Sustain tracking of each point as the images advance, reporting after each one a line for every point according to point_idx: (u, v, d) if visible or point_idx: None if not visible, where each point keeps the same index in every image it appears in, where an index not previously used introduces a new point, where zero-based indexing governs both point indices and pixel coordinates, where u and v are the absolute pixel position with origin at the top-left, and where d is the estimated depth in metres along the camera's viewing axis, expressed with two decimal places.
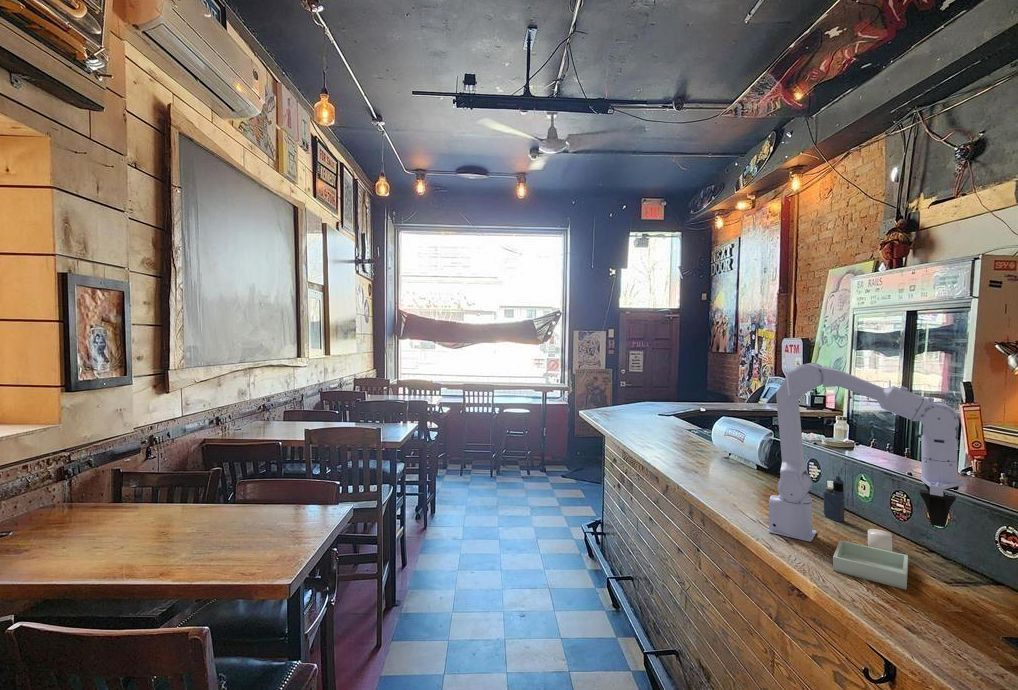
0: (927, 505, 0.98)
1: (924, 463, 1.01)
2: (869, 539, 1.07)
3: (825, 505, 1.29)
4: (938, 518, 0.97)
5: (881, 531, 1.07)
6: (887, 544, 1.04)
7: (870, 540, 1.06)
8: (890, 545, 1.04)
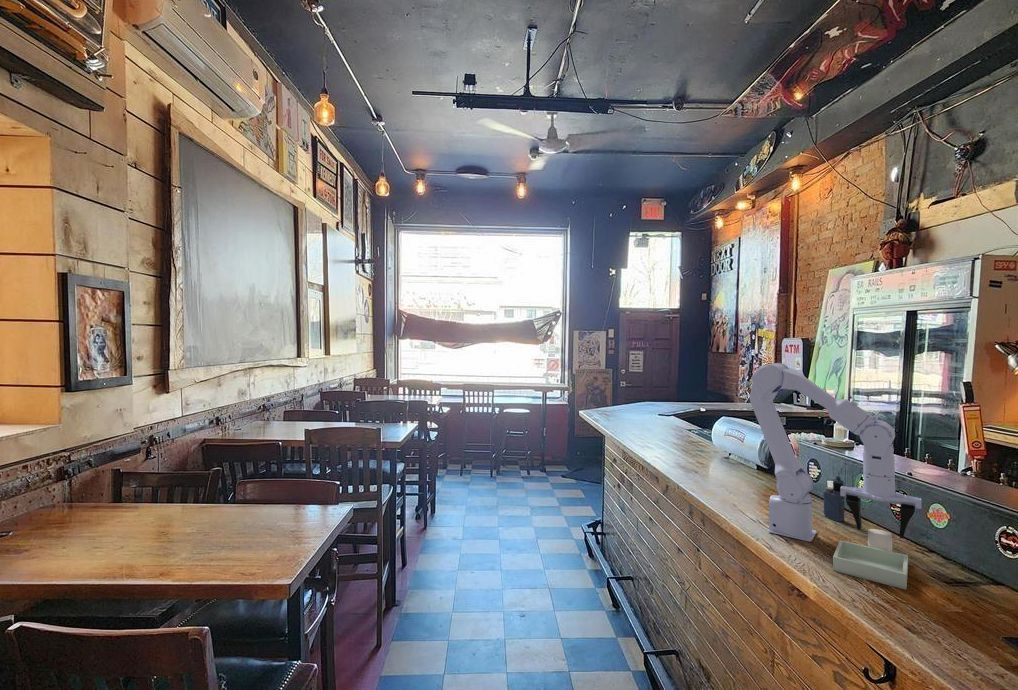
0: None
1: None
2: (869, 539, 1.07)
3: (825, 505, 1.29)
4: None
5: (881, 531, 1.07)
6: (887, 544, 1.04)
7: (870, 540, 1.06)
8: (890, 545, 1.04)
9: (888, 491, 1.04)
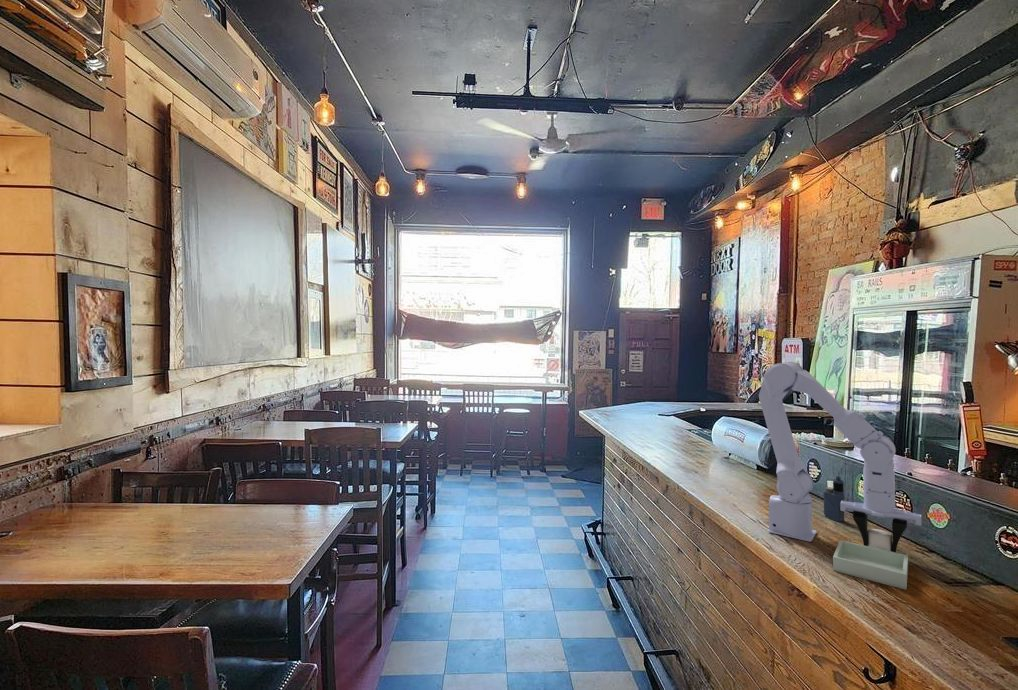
0: None
1: None
2: (869, 539, 1.07)
3: (825, 505, 1.29)
4: None
5: (881, 531, 1.07)
6: (887, 544, 1.04)
7: (870, 540, 1.06)
8: (890, 545, 1.04)
9: (888, 507, 1.04)
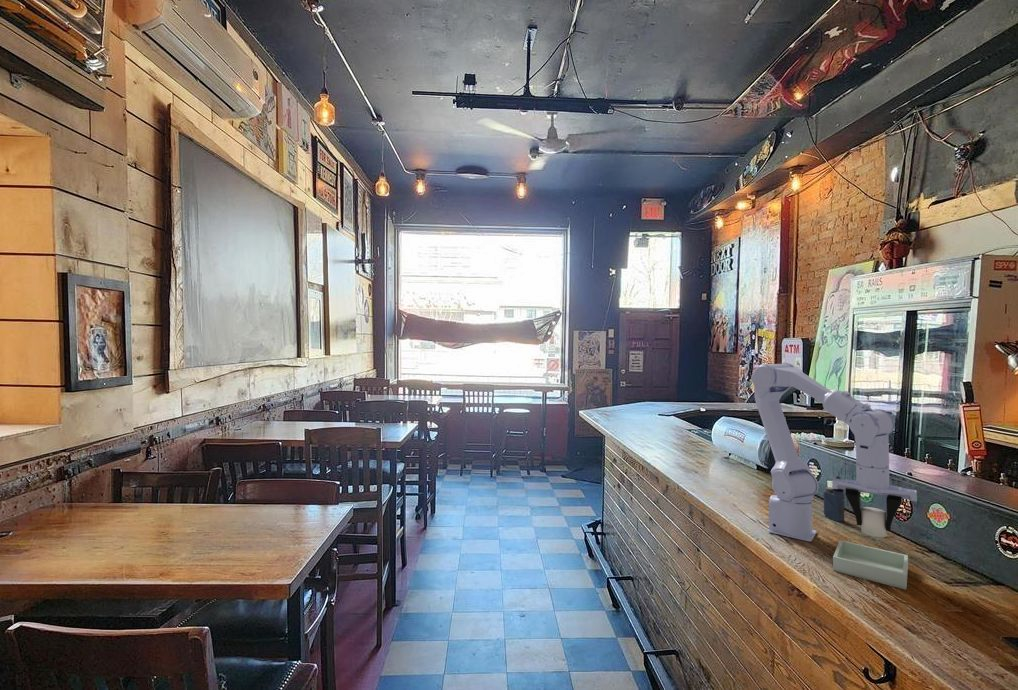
0: None
1: None
2: (862, 517, 1.02)
3: (825, 505, 1.29)
4: None
5: (875, 509, 1.02)
6: (881, 522, 0.99)
7: (863, 518, 1.01)
8: (884, 523, 1.00)
9: (882, 483, 0.99)
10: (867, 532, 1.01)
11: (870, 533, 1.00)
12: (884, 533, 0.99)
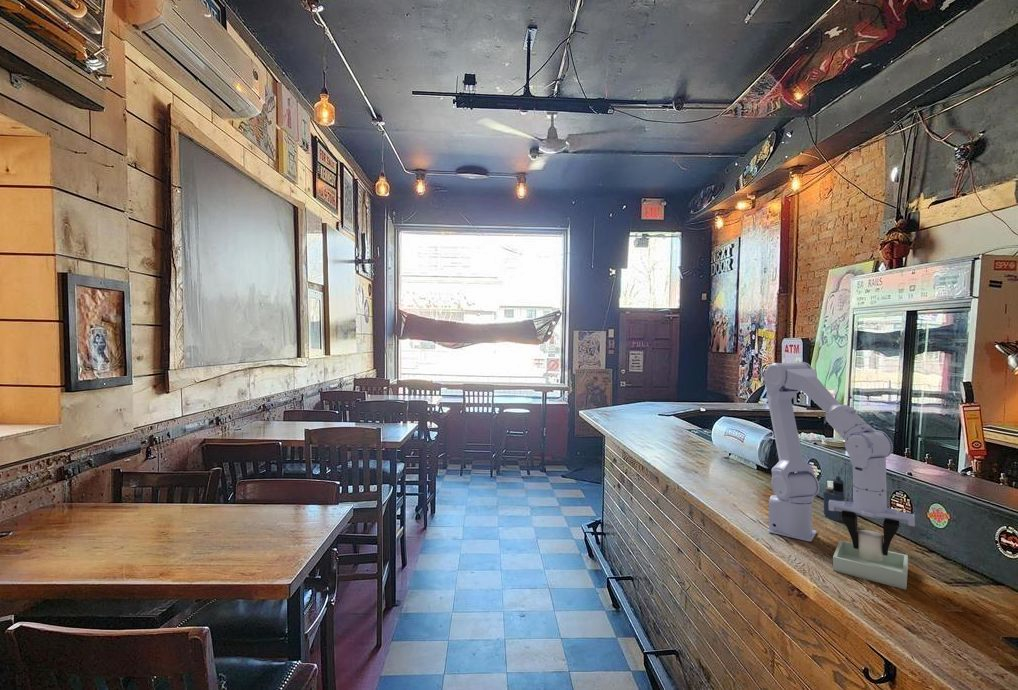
0: None
1: None
2: (859, 540, 1.00)
3: (825, 505, 1.29)
4: None
5: (872, 532, 1.00)
6: (878, 546, 0.97)
7: (860, 541, 0.99)
8: (881, 547, 0.97)
9: (879, 506, 0.96)
10: (864, 556, 0.99)
11: (867, 557, 0.98)
12: (881, 557, 0.97)
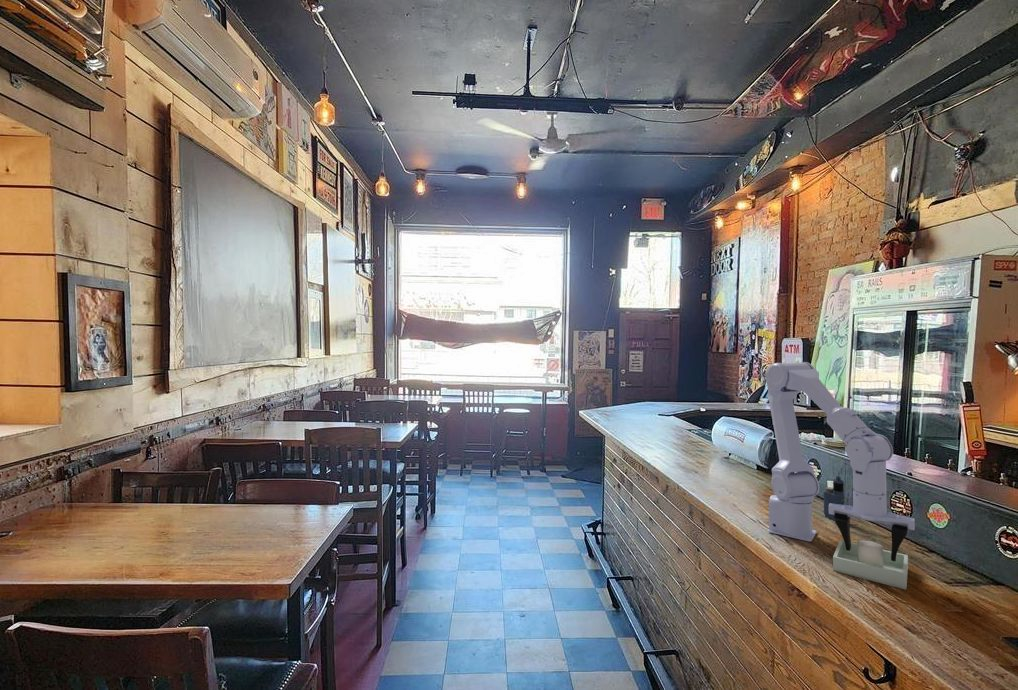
0: None
1: None
2: (859, 551, 1.00)
3: (825, 505, 1.29)
4: None
5: (872, 543, 1.00)
6: (878, 557, 0.97)
7: (860, 552, 0.99)
8: (881, 558, 0.97)
9: (879, 510, 0.96)
10: None
11: None
12: None
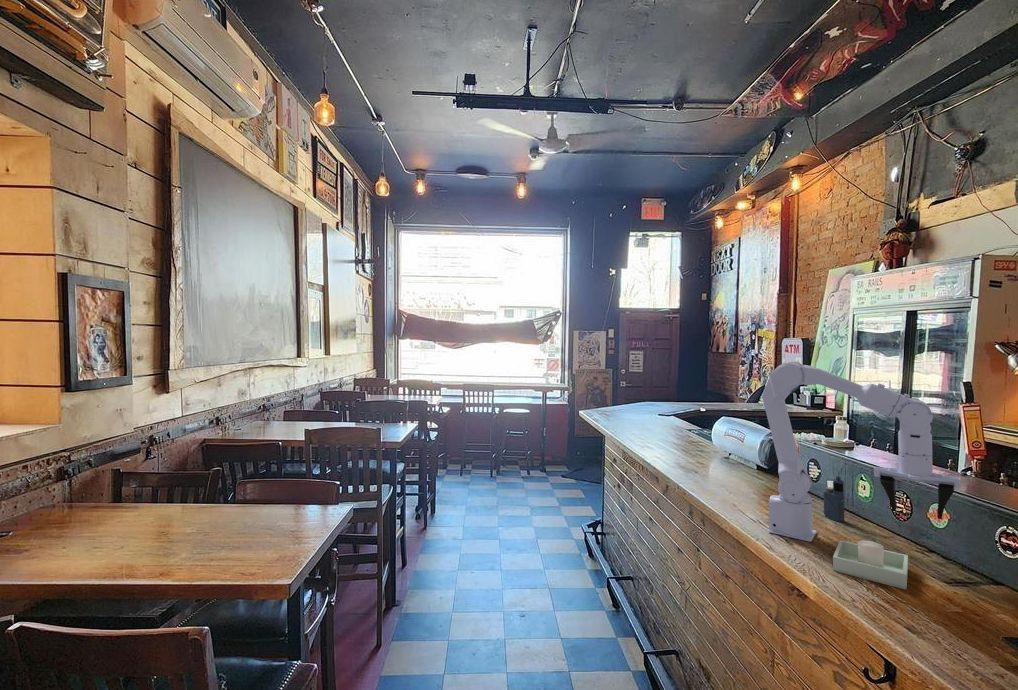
0: None
1: None
2: (859, 551, 1.00)
3: (825, 505, 1.29)
4: None
5: (873, 543, 1.00)
6: (878, 557, 0.97)
7: (860, 552, 0.99)
8: (881, 558, 0.97)
9: (926, 470, 1.01)
10: None
11: None
12: None
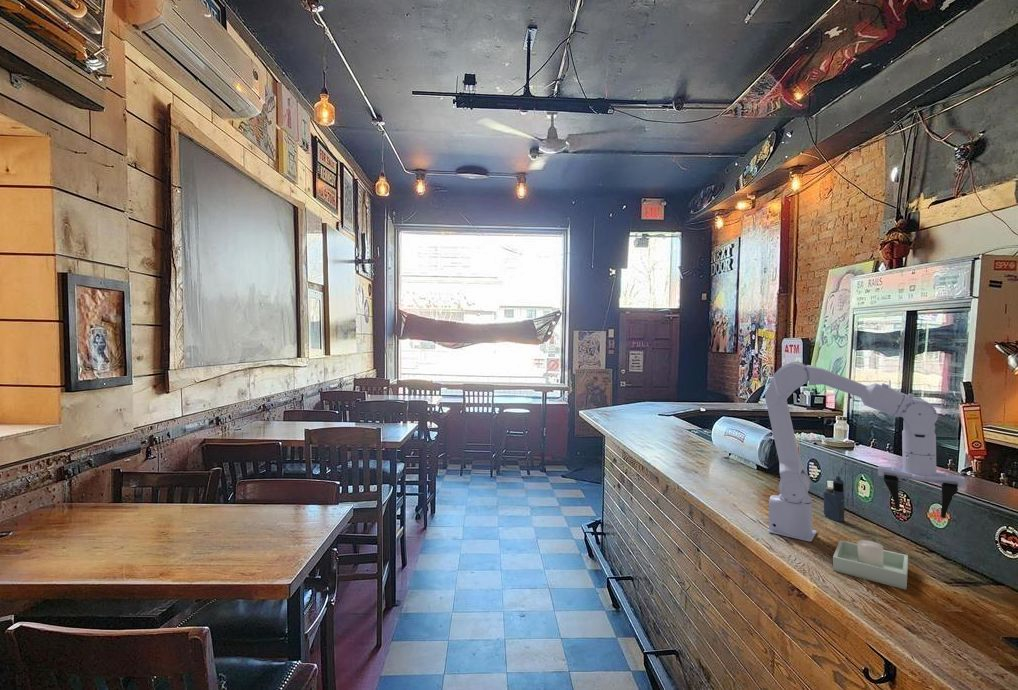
0: None
1: None
2: (858, 551, 1.00)
3: (825, 505, 1.29)
4: None
5: (872, 543, 1.00)
6: (877, 557, 0.97)
7: (859, 552, 1.00)
8: (881, 558, 0.97)
9: (930, 469, 1.01)
10: None
11: None
12: None
